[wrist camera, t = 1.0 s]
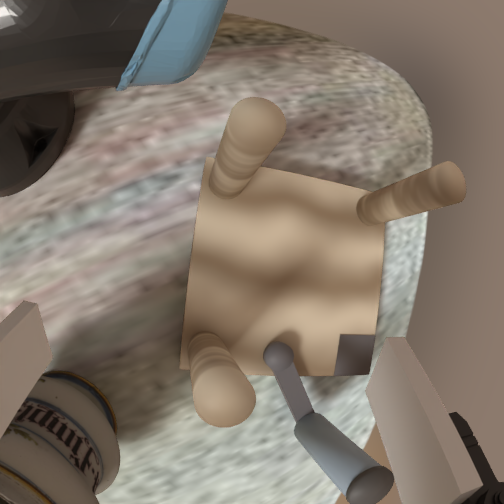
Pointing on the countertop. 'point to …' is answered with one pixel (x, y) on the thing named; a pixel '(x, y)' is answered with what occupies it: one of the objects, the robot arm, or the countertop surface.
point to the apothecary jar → (59, 444)
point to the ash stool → (286, 264)
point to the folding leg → (327, 437)
